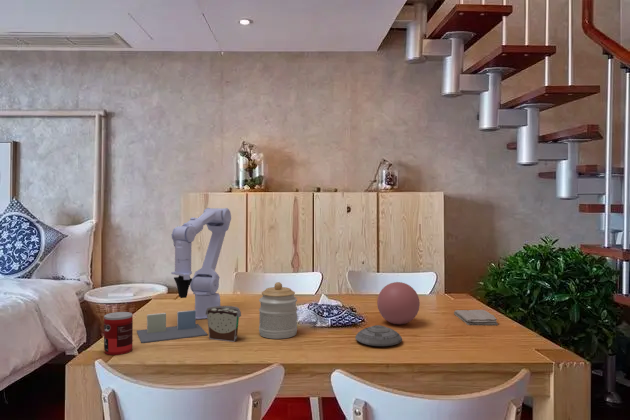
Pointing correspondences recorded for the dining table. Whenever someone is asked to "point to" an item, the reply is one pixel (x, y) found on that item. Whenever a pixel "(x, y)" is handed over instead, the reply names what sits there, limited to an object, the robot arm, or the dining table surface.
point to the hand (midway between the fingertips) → (182, 297)
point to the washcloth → (476, 317)
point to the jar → (278, 313)
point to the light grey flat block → (186, 319)
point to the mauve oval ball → (398, 303)
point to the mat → (170, 334)
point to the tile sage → (156, 322)
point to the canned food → (118, 333)
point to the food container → (223, 322)
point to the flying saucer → (378, 336)
